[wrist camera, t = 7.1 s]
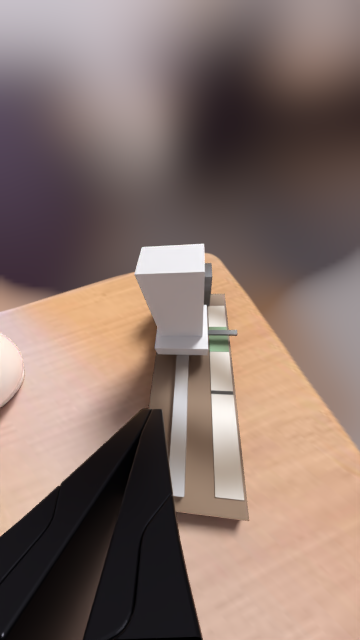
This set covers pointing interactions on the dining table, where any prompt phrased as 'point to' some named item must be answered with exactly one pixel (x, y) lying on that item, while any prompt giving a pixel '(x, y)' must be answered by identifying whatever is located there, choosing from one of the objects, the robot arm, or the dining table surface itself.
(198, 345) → the slider
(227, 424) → the base
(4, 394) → the lidded jar
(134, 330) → the dining table surface
